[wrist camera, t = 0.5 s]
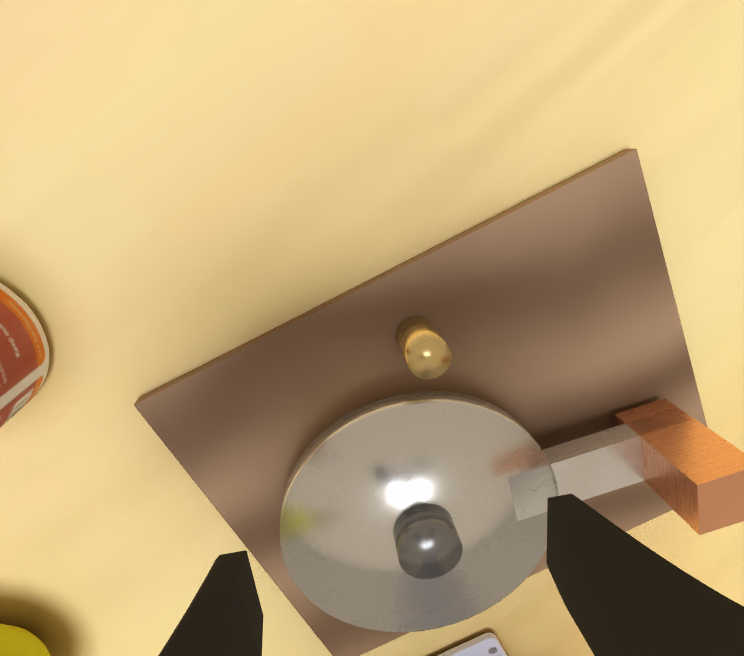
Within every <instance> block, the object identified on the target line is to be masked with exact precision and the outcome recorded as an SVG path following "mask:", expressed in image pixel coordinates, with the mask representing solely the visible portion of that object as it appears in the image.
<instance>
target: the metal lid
mask: <svg viewBox="0 0 744 656" xmlns="http://www.w3.org/2000/svg"><path fill="white" fill-rule="evenodd" d="M615 423H616V427H613V428H609V429H606V430H603V431H600V432H597V433H594V434H591V435H587V436H584V437H581V438H578V439H575V440H572V441H568V442H565V443H562V444H559V445H556V446H553V447H550V448H546V449H543V450H542V449H541V448H540V446H539V445H538V444H537V442H536V441H535V440H534V439H533V437H532V436H531V435H530V433H529V432H528V431H527V430H526V429H525V428H524V427H523V426H522V425H521V424H520V423H519V422H518V421H517V420H516V419H515V418H513V417H512V416H511V415H510V414H508V413H507V412H506V411H504V410H502V409H500V408H499V407H497V406H495V405H493V404H491V403H489V402H486V401H484V400H481V399H479V398H476V397H472V396H468V395H464V394H460V393H453V392H444V391H418V392H411V393H403V394H398V395H394V396H390V397H386V398H382V399H380V400H377V401H374V402H372V403H369V404H366V405H364V406H362V407H360V408H358V409H356V410H354V411H352V412H350V413H348V414H346V415H345V416H343V417H342V418H341V419H339V420H338V421H336V422H335V423H333V424H332V425H330V426H329V427H328V428H327V429H326V430H325V431H324V432H322V433H321V434H320V435H319V436H318V437H317V438H316V439H315V440H314V441H313V442H312V443H311V445H310V446H309V447H308V448H307V449H306V450H305V451H304V453H303V454H302V456H301V457H300V459H299V460H298V462H297V463H296V465H295V467H294V469H293V471H292V473H291V475H290V477H289V479H288V482H287V485H286V489H285V492H284V495H283V501H282V509H281V518H280V546H281V551H282V556H283V560H284V562H285V565H286V568H287V570H288V572H289V574H290V576H291V578H292V579H293V581H294V583H295V584H296V586H297V587H298V588H299V589H300V591H301V592H302V593H303V594H304V595H305V596H306V597H307V598H308V599H309V600H310V601H311V602H312V603H313V604H314V605H315V606H317V607H318V608H320V609H321V610H323V611H324V612H326V613H327V614H329V615H331V616H333V617H335V618H337V619H339V620H341V621H343V622H346V623H349V624H352V625H354V626H357V627H362V628H366V629H370V630H377V631H385V632H415V631H424V630H430V629H436V628H440V627H444V626H447V625H451V624H454V623H457V622H460V621H462V620H465V619H468V618H470V617H472V616H474V615H476V614H479V613H481V612H483V611H485V610H486V609H488V608H490V607H491V606H493V605H495V604H496V603H498V602H499V601H501V600H502V599H503V598H505V597H506V596H507V595H509V594H510V593H511V592H512V591H514V590H515V589H516V588H517V587H518V586H519V585H520V584H521V583H522V582H523V581H524V580H525V579H526V578H527V577H528V576H529V574H530V573H531V572H532V571H533V570H534V568H535V567H536V566H537V564H538V563H539V561H540V560H541V558H542V557H543V555H544V553H545V551H546V549H547V500H548V498H549V497H555V496H561V495H566V494H573V495H575V496H576V497H578V498H579V499H580V500H585V499H589V498H592V497H595V496H598V495H601V494H604V493H607V492H610V491H614V490H617V489H620V488H623V487H626V486H629V485H632V484H636V483H639V482H642V481H645V482H646V483H647V484H648V485H649V486H650V487H651V488H652V489H653V490H654V491H655V492H656V493H657V494H658V495H659V496H660V497H661V498H662V499H663V500H664V501H665V502H666V503H667V504H668V505H669V506H670V507H671V508H672V509H673V510H674V511H675V512H676V513H677V514H678V515H680V516H681V517H682V518H683V519H684V520H685V521H686V522H687V523H688V524H689V525H690V526H691V527H692V528H693V529H694V530H695V531H696V532H697V533H698V534H699V535H701V534H704V533H707V532H711V531H714V530H717V529H720V528H723V527H726V526H729V525H732V524H735V523H739V522H742V521H744V453H743V452H742V451H740V450H739V449H737V448H736V447H735V446H733V445H732V444H730V443H729V442H727V441H726V440H724V439H723V438H722V437H720V436H719V435H717V434H716V433H714V432H713V431H711V430H710V429H709V428H707V427H706V426H704V425H703V424H701V423H700V422H698V421H697V420H695V419H694V418H693V417H691V416H690V415H688V414H687V413H685V412H684V411H682V410H681V409H680V408H678V407H677V406H675V405H674V404H672V403H671V402H669V401H668V400H667V399H665V398H664V399H661V400H658V401H655V402H652V403H648V404H645V405H642V406H639V407H636V408H633V409H629V410H626V411H623V412H620V413H617V414H615Z"/></svg>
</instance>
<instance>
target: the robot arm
mask: <svg viewBox="0 0 744 656" xmlns="http://www.w3.org/2000/svg"><path fill="white" fill-rule="evenodd" d="M546 563H547V566H548V568H549V570H550V573H551V575H552V577H553V579H554V582H555V584H556V586H557V588H558V591H559V593H560V595H561V597H562V599H563V601H564V603H565V606H566V607H567V609H568V611H569V613H570V614H571V616H572V618H573V620H574V621H575V623H576V625H577V626H578V628H579V630H580V632H581V633H582V635H583V637H584V638H585V640H586V642H587V643H588V645H589V647H590V648H591V650H592V652H593V653H594V655H595V656H744V607H743V606H741V605H740V604H738V603H736V602H734V601H732V600H730V599H729V598H727V597H725V596H724V595H722V594H720V593H718V592H717V591H715V590H713V589H712V588H710V587H708V586H707V585H705V584H703V583H702V582H700V581H699V580H697V579H695V578H694V577H692V576H691V575H689V574H687V573H686V572H684V571H683V570H681V569H679V568H678V567H676V566H675V565H673V564H672V563H670V562H669V561H667V560H666V559H664V558H662V557H661V556H660V555H658V554H657V553H655V552H654V551H652V550H651V549H649V548H648V547H646V546H645V545H643V544H642V543H640V542H639V541H638V540H636V539H635V538H633V537H632V536H630V535H629V534H628V533H626V532H625V531H623V530H622V529H621V528H619V527H618V526H616V525H615V524H614V523H612V522H611V521H609V520H608V519H607V518H605V517H604V516H602V515H601V514H600V513H598V512H597V511H596V510H594V509H593V508H591V507H590V506H589V505H587V504H586V503H585V502H583V501H582V500H580V499H579V498H578V497H576V496H575V495H573V494H566V495H561V496H555V497H549V498H548V500H547V559H546ZM262 635H263V613H262V609H261V605H260V601H259V598H258V594H257V590H256V586H255V582H254V578H253V574H252V571H251V567H250V563H249V559H248V555H247V551H240V552H234V553H229V554H223V555H219V557H218V558H217V559H216V560H215V562H214V564H213V566H212V567H211V569H210V571H209V573H208V575H207V576H206V578H205V580H204V582H203V584H202V585H201V587H200V589H199V590H198V592H197V594H196V596H195V597H194V599H193V601H192V602H191V604H190V606H189V608H188V609H187V611H186V613H185V614H184V616H183V617H182V619H181V621H180V622H179V624H178V626H177V627H176V629H175V630H174V632H173V634H172V635H171V637H170V638H169V640H168V642H167V643H166V645H165V646H164V648H163V649H162V651H161V653H160V654H159V656H262ZM437 656H507V654H506V653H505V651H504V649H503V647H502V646H501V644H500V642H499V640H498V639H497V637H496V635H495V634H493V633H485V634H482V635H480V636H478V637H476V638H474V639H472V640H469V641H467V642H465V643H463V644H461V645H459V646H456V647H454V648H452V649H450V650H448V651H446V652H443V653H441V654H439V655H437Z"/></svg>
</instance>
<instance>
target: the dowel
mask: <svg viewBox="0 0 744 656" xmlns="http://www.w3.org/2000/svg"><path fill="white" fill-rule="evenodd" d="M396 339H397V342H398V344H399V346H400V349H401V351H402V353H403V355H404V357H405V360H406V362H407V364H408V366H409V368H410V370H411V372H412V373H413V374H414V375H415V376H417V377H419V378H422V379H433V378H437V377H439V376H440V375H442V374H443V373H444V372H445V371H446V370H447V369H448V367H449V365H450V363H451V351H450V349H449V347H448V346H447V344H446V343H445V341H444V340H443V339H442V337H441V336H440V334H439V333H438V332H437V330H436V329H435V327H434V326H433V324H432V323H431V322H430V321H429V320H428V319H427V318H425V317H423V316H410V317H408V318H406V319H404V320H403V321H402V322H401V323H400V324H399V326H398V328H397V331H396Z"/></svg>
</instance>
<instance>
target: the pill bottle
mask: <svg viewBox="0 0 744 656" xmlns="http://www.w3.org/2000/svg"><path fill="white" fill-rule="evenodd" d="M48 367H49V346H48V342H47V339H46V336H45V333H44V331H43V328H42V326H41V324H40V322H39V321H38V319H37V317H36V316H35V314H34V313H33V312H32V310H31V309H30V308H29V307H28V305H27V304H26V303H25V302H24V301H23V300H22V299H21V298H20V297H18V296H17V295H16V294H15V293H14V292H13V291H11V290H10V289H9V288H7V287H6V286H4V285H3V284H1V283H0V427H1V426H2V425H3V424H5V423H6V422H7V421H8V420H9V419H10V418H11V417H12V416H14V415H15V414H16V413H17V412H18V411H19V410H20V409H21V408H23V407H24V406H25V405H26V404H27V403H28V402H29V401H30V400H31V399H32V398H33V397H34V396H35V395H36V394H37V392H38V391H39V389H40V388H41V386H42V385H43V383H44V380H45V378H46V376H47V372H48Z"/></svg>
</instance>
